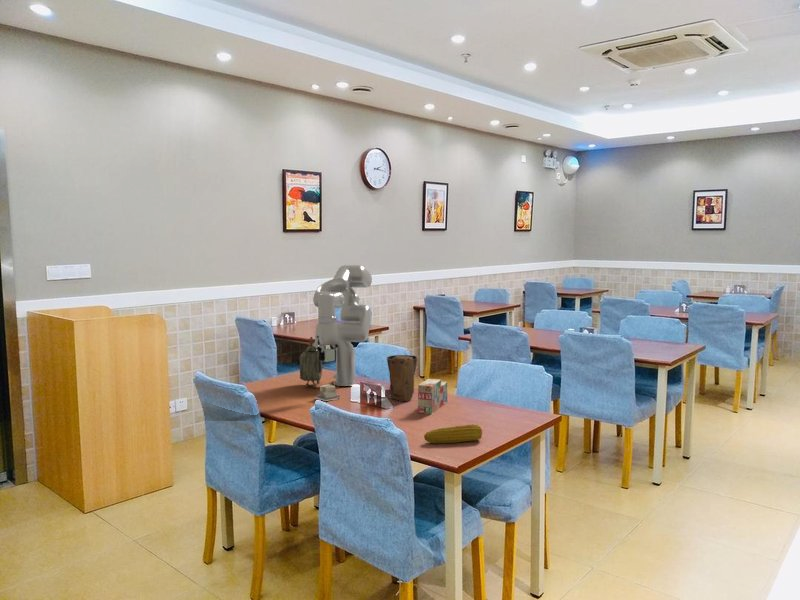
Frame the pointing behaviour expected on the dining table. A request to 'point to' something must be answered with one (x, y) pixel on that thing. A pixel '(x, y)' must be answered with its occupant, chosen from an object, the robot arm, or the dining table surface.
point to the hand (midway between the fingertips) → (327, 359)
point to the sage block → (329, 355)
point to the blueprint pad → (327, 398)
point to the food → (454, 434)
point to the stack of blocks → (431, 395)
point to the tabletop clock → (310, 365)
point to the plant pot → (406, 355)
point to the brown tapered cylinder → (402, 378)
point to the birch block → (327, 391)
